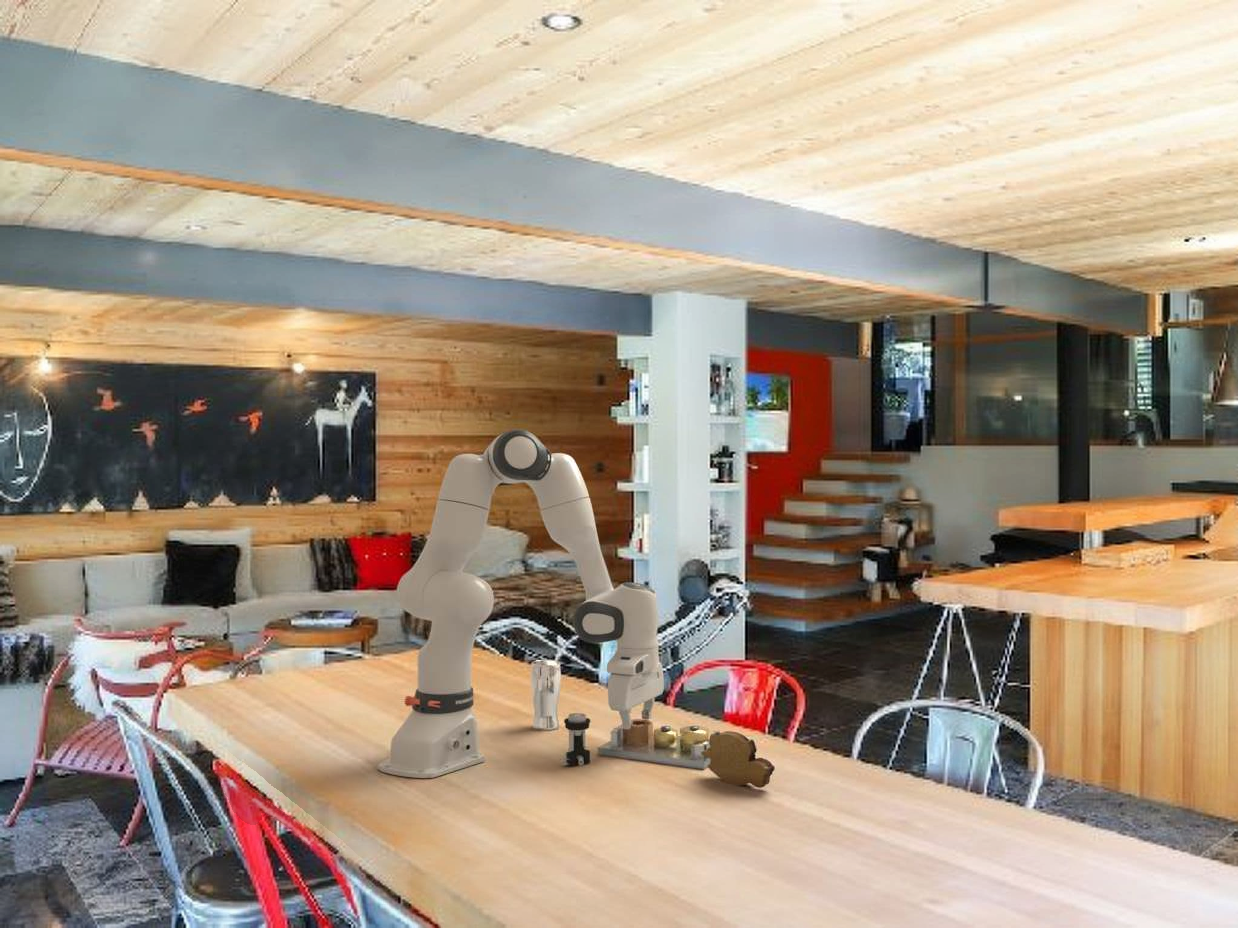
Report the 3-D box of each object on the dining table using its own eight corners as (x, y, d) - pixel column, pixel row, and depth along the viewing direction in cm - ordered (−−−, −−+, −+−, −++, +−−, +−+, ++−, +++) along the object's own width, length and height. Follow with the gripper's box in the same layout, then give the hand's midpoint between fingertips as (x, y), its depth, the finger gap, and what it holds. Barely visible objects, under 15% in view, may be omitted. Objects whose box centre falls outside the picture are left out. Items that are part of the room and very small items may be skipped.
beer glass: (563, 723, 257) (563, 659, 257) (558, 731, 250) (558, 665, 250) (533, 722, 258) (533, 659, 258) (528, 730, 251) (528, 665, 251)
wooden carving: (780, 789, 209) (780, 736, 208) (766, 795, 205) (767, 741, 205) (709, 772, 219) (709, 722, 219) (695, 777, 216) (695, 726, 216)
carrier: (704, 769, 221) (704, 739, 221) (598, 754, 232) (598, 725, 232) (732, 749, 235) (732, 721, 235) (630, 736, 246) (630, 708, 246)
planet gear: (644, 746, 232) (644, 727, 232) (619, 743, 235) (619, 724, 235) (656, 739, 238) (656, 720, 238) (630, 736, 240) (630, 718, 240)
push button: (568, 770, 220) (568, 720, 220) (553, 764, 225) (553, 715, 224) (595, 764, 224) (595, 715, 224) (580, 758, 229) (580, 710, 228)
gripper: (645, 649, 246) (644, 711, 247) (602, 665, 228) (602, 732, 228) (670, 652, 244) (670, 714, 244) (630, 668, 225) (629, 736, 226)
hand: (637, 723), depth 236 cm, fingers open, 8 cm apart
